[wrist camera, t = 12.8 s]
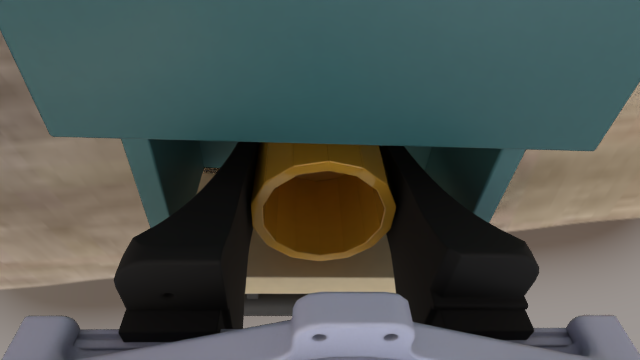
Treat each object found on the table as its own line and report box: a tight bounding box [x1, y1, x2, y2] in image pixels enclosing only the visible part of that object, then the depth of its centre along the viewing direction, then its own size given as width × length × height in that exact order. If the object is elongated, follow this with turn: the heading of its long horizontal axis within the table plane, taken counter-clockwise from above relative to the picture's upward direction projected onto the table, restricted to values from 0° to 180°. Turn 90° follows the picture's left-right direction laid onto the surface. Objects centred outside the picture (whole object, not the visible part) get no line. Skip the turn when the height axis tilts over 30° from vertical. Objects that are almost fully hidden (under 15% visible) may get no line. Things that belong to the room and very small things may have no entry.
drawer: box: [121, 138, 526, 316], centre depth 17 cm, size 18×13×6 cm
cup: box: [251, 142, 396, 261], centre depth 15 cm, size 5×5×5 cm
